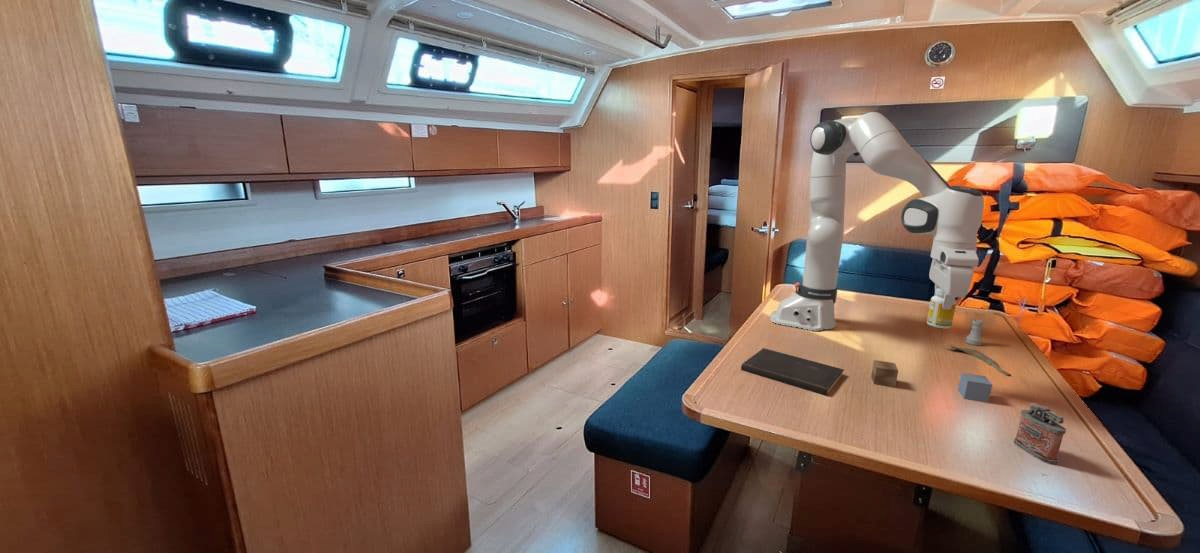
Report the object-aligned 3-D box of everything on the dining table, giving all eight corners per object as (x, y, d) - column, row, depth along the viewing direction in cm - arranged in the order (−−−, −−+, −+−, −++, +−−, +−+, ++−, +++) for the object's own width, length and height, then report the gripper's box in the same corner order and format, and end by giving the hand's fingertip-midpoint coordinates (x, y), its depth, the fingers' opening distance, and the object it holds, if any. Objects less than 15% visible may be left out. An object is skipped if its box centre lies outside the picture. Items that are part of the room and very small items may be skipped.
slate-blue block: (963, 399, 119) (967, 380, 118) (957, 390, 123) (961, 372, 122) (988, 403, 117) (992, 384, 116) (981, 394, 122) (985, 376, 120)
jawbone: (963, 349, 153) (965, 343, 152) (1032, 377, 134) (1034, 371, 133) (941, 349, 151) (943, 343, 150) (1008, 378, 131) (1010, 371, 131)
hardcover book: (762, 354, 146) (763, 347, 145) (843, 377, 132) (844, 369, 131) (740, 371, 134) (741, 364, 134) (826, 398, 120) (827, 389, 119)
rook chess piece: (975, 341, 157) (980, 318, 155) (985, 346, 153) (990, 322, 151) (961, 340, 158) (966, 317, 156) (970, 345, 153) (975, 322, 151)
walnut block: (873, 384, 126) (876, 367, 125) (871, 376, 131) (873, 360, 130) (895, 387, 124) (898, 370, 123) (891, 380, 129) (894, 363, 128)
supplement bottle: (922, 323, 124) (928, 288, 122) (934, 320, 127) (940, 286, 124) (943, 330, 120) (950, 293, 117) (956, 326, 122) (963, 291, 120)
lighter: (1008, 441, 101) (1019, 398, 99) (1023, 440, 101) (1034, 398, 99) (1046, 464, 93) (1058, 419, 91) (1061, 464, 93) (1074, 418, 91)
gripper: (927, 244, 129) (918, 293, 132) (948, 258, 111) (937, 314, 114) (955, 246, 127) (945, 295, 130) (981, 261, 108) (969, 318, 112)
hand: (942, 304), depth 122 cm, fingers closed on supplement bottle, 5 cm apart
